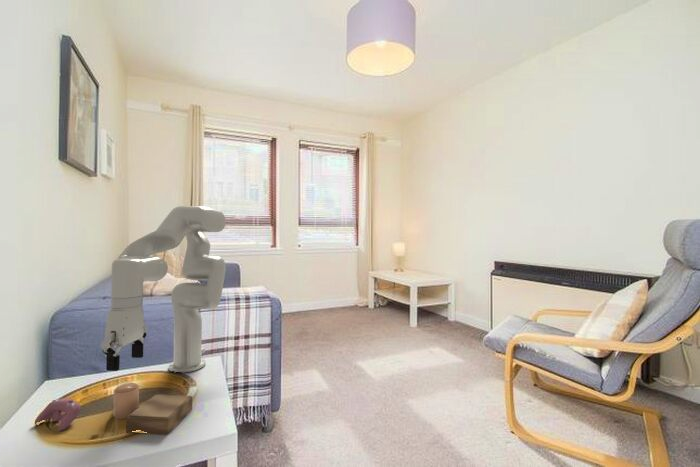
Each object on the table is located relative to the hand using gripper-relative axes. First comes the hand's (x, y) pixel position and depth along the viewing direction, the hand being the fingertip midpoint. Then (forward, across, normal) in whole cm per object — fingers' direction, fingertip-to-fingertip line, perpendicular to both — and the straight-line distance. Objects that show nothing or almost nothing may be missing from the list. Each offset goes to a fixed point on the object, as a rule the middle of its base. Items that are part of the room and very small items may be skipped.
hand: (125, 363), depth 97 cm
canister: (+14, -1, 0) cm, 14 cm away
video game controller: (+15, +6, -14) cm, 21 cm away
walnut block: (+14, +2, +12) cm, 19 cm away
